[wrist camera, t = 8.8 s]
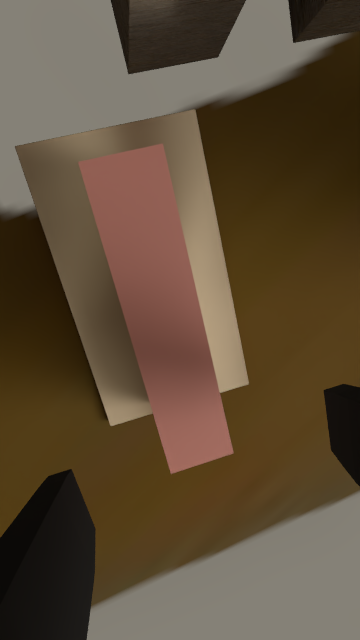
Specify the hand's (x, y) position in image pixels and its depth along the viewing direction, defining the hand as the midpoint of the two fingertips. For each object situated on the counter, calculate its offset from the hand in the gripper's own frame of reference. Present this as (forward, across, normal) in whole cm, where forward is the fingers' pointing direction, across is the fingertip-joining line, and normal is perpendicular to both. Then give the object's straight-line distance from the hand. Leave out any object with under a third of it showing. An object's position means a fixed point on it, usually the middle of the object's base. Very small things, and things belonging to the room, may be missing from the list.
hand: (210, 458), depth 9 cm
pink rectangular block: (+8, 0, -3) cm, 9 cm away
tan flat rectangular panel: (+9, 0, -4) cm, 10 cm away
